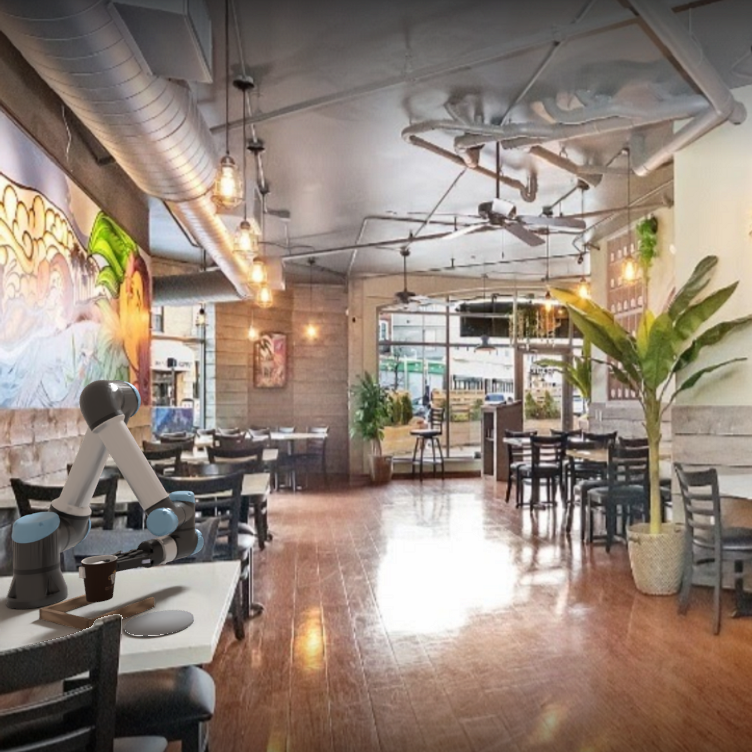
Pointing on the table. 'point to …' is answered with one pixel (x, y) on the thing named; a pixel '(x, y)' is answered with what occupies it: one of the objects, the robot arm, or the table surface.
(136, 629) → the mat
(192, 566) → the table surface
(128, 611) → the brown wooden open frame
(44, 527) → the robot arm
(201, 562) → the table surface
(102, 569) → the coffee mug
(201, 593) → the table surface
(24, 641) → the table surface
